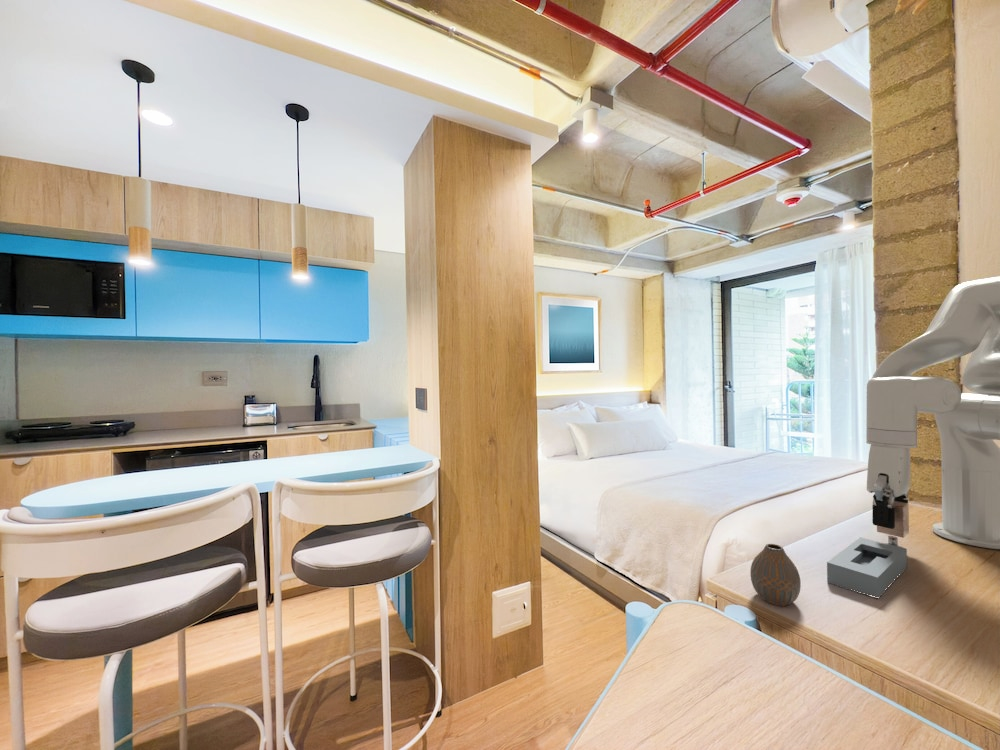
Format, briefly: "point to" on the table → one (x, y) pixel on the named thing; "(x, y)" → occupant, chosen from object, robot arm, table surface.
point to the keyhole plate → (867, 566)
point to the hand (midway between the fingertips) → (890, 521)
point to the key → (897, 523)
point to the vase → (775, 576)
